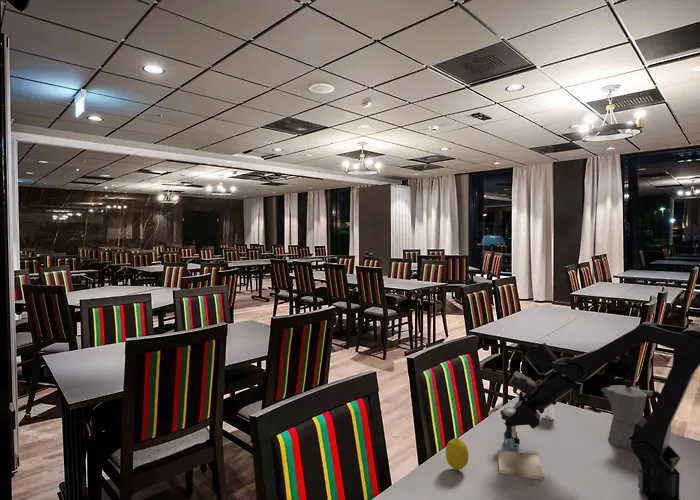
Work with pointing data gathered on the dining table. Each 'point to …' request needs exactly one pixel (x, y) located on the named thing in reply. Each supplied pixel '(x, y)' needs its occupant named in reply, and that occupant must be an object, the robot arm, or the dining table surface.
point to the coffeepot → (626, 411)
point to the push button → (510, 429)
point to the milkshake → (549, 412)
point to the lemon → (457, 454)
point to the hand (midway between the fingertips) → (506, 420)
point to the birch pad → (520, 464)
